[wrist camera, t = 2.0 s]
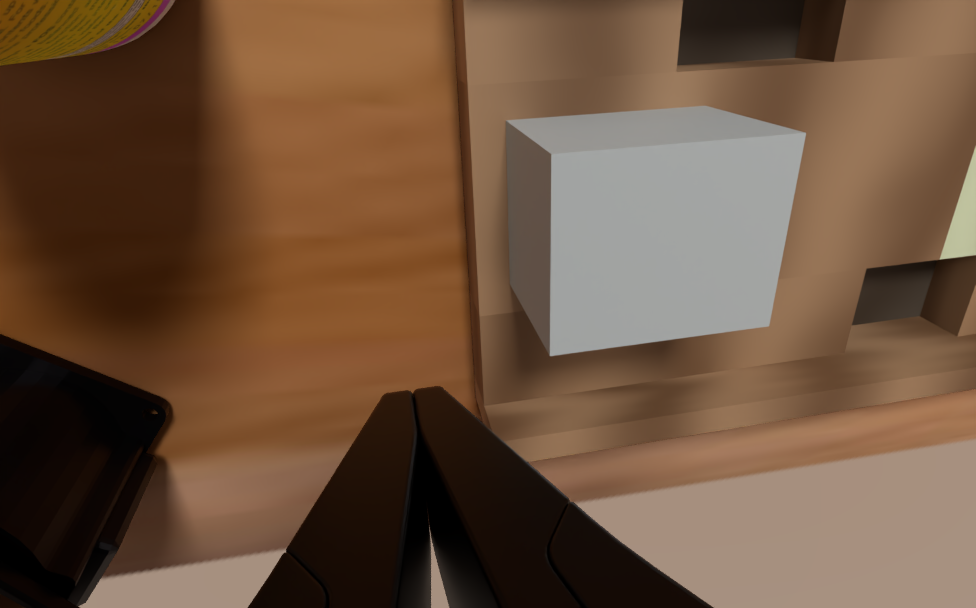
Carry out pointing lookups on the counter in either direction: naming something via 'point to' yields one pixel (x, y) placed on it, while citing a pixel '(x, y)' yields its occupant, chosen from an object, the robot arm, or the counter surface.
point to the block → (647, 223)
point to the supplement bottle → (72, 26)
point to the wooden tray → (813, 221)
